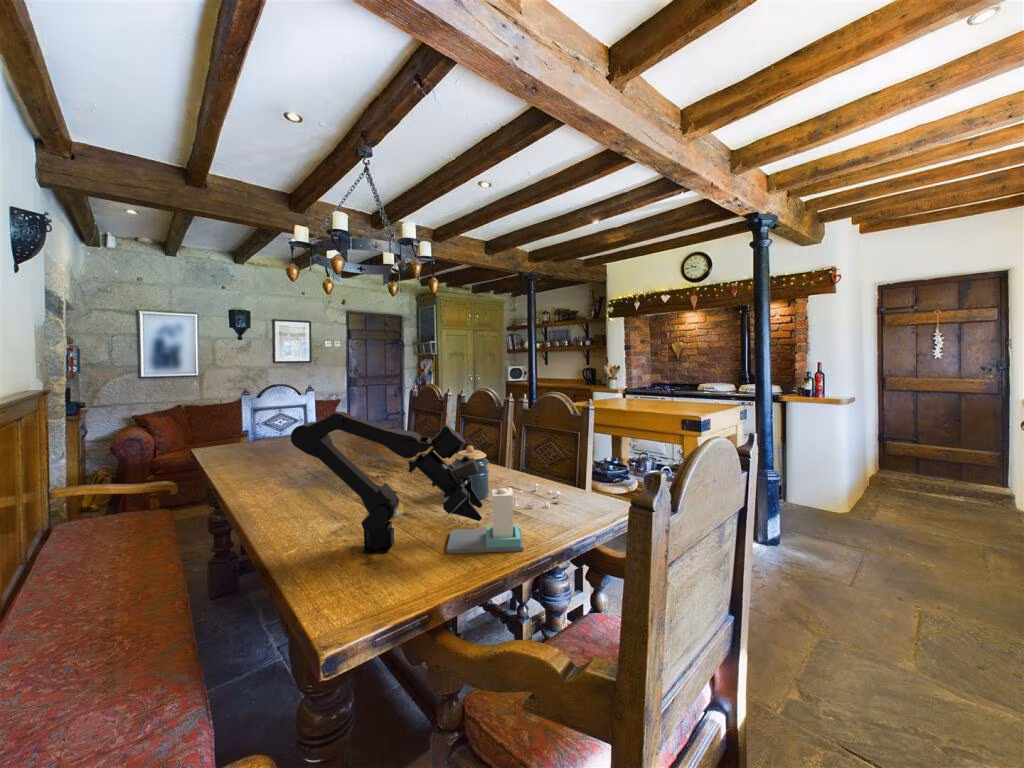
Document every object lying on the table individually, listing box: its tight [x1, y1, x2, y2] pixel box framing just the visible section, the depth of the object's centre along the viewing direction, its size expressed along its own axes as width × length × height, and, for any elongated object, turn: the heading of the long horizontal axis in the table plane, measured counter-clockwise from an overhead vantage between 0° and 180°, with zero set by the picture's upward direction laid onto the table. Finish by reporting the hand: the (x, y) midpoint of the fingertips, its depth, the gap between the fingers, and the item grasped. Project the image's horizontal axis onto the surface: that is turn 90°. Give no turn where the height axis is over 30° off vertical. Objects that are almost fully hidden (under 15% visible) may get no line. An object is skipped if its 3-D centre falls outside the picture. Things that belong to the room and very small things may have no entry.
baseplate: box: [446, 525, 524, 554], centre depth 112 cm, size 19×12×3 cm, turn 93°
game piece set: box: [507, 483, 562, 509], centre depth 145 cm, size 19×20×4 cm
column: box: [491, 487, 514, 538], centre depth 110 cm, size 5×5×13 cm
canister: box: [451, 445, 490, 500], centre depth 149 cm, size 13×13×18 cm
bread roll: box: [392, 500, 404, 518], centre depth 133 cm, size 8×9×4 cm
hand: (481, 512), depth 110 cm, fingers open, 9 cm apart
